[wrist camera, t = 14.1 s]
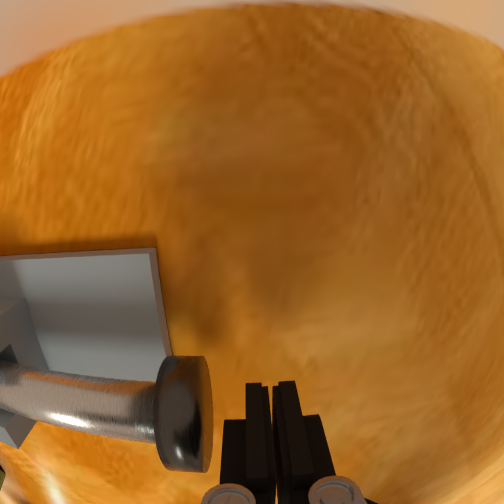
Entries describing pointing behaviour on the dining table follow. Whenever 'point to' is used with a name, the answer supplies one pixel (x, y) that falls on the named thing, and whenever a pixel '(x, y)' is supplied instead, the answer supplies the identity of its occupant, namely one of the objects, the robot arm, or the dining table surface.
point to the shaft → (123, 406)
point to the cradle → (81, 318)
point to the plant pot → (1, 478)
